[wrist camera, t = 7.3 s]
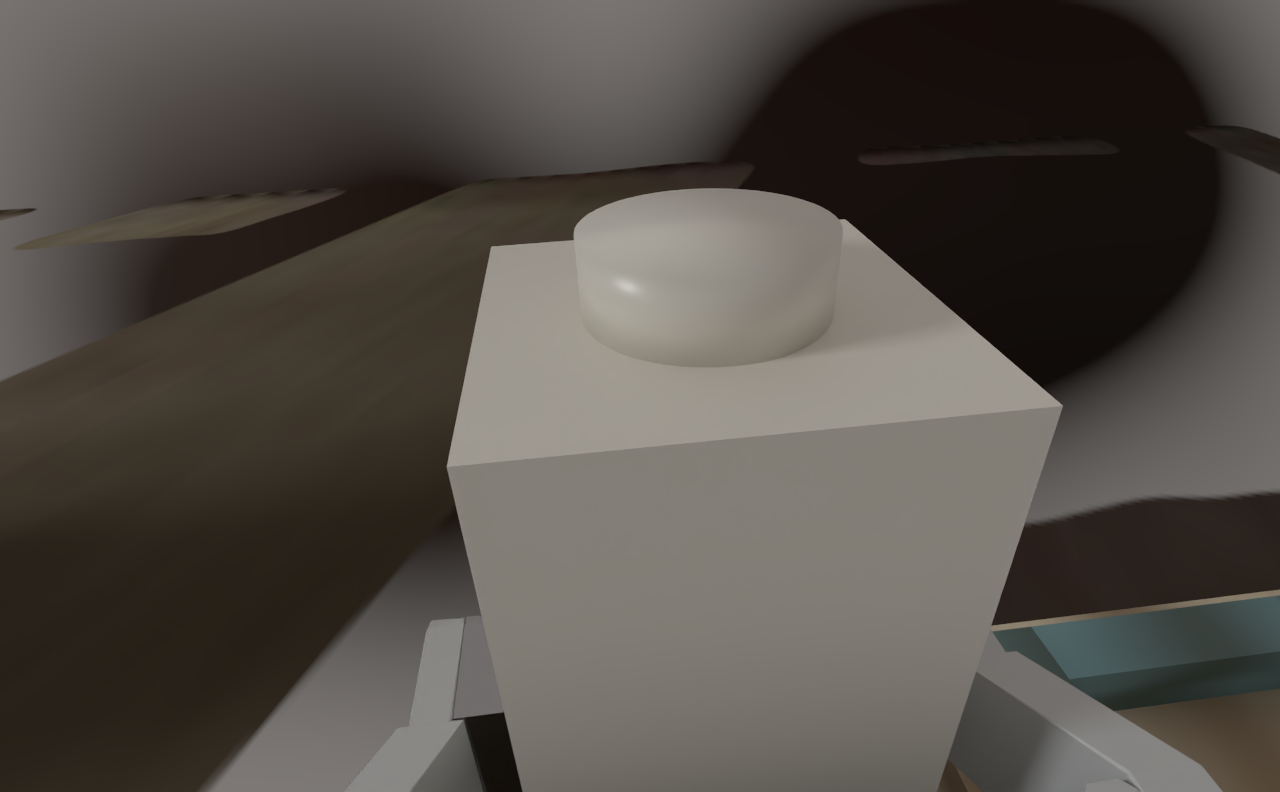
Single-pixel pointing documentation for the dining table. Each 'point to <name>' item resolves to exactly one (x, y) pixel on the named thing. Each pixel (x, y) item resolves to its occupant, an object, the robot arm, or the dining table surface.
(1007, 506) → the cream pillar
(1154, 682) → the birch base board
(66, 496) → the dining table surface
